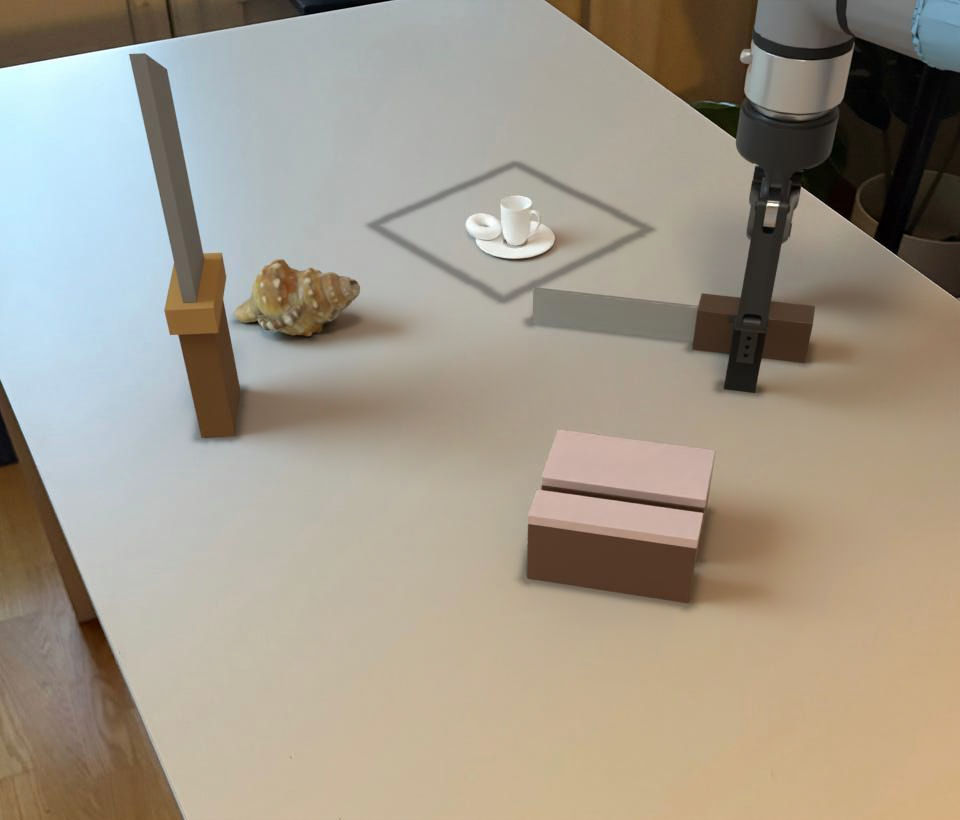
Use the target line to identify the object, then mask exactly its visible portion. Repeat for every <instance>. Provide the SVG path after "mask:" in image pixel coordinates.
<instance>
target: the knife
mask: <svg viewBox="0 0 960 820" xmlns="http://www.w3.org/2000/svg"><path fill="white" fill-rule="evenodd" d="M128 57H129V61H130V66H131V71H132V74H133V79H134V84H135V88H136V93H137V97H138V103H139V106H140V112H141V116H142V120H143V125H144V130H145V134H146V139H147V145H148V148H149V153H150V157H151V162H152V167H153V171H154V176H155V181H156V185H157V190H158V194H159V199H160V203H161V209H162V212H163V217H164V222H165V226H166V231H167V237H168V240H169V245H170V250H171V255H172V259H173V266H172V270H171V276H170V281H169V285H168V290H167V295H166V300H165V305H164V308H163V309H164V310H163V311H164V315H165V320H166V324H167V329H168V333H169V336H178V340H179V345H180V348H181V353H182V358H183V362H184V366H185V371H186V376H187V379H188V384H189V388H190V389H189V390H190V393H191V398H192V402H193V407H194V411H195V415H196V420H197V424H198V429H199V433H200V438H201V439H210V438H212V439H213V438H232V437H234V438H235V437H236V431H237V422H238V413H239V405H240V397H241V385H240V381H239V374H238V370H237V365H236V359H235V354H234V350H233V349H234V348H233V344H232V339H231V333H230V328H229V322H228V318H227V313H226V307H225V301H224V296H225V290H226V283H227V271H226V268H225V262H224V255H223V252H207V253H205V252H204V250H203V245H202V240H201V239H202V238H201V235H200V230H199V225H198V224H199V223H198V220H197V214H196V210H195V204H194V200H193V194H192V190H191V183H190V179H189V174H188V169H187V164H186V159H185V158H186V157H185V153H184V149H183V144H182V138H181V132H180V128H179V123H178V122H179V121H178V117H177V113H176V108H175V102H174V98H173V92H172V89H171V83H170V78H169V72H168V69H167V68H166V67H165V66H163V64H160V63H159V62H158V61H156V60H155V59H153V58H152V57H151V56H149V55H148V54H147V53H145V52H144V53H143V52H141V53H139V52H138V53H128Z"/></svg>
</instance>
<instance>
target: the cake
mask: <svg viewBox="0 0 960 820" xmlns="http://www.w3.org/2000/svg"><path fill="white" fill-rule="evenodd" d="M716 451H717V450H715V449H709V448H703V447H702V448H701V447H692V446H685V445H677V444H670V443H664V442H663V443H662V442H656V441H648V440H642V439H641V440H640V439H634V438H625V437H619V436H610V435H603V434H597V433H588V432H581V431H575V430H568V429H557V430H556V434H555V436H554V439H553V443H552V445H551V448H550V450H549V454H548V456H547V460H546V463H545V465H544V469H543V471H542V475H541V482H540V483H541V485H540V486H541V487H540V490H544V491H551V492H558V493H565V494H572V495H579V496H586V497H594V498H601V499H608V500H615V501H622V502H629V503H636V504H643V505H650V506H657V507H664V508H671V509H678V510H685V511H692V512H699V513H703V520H702V526H701V533H700V539H699V545H698V551H697V558H696V562H697V560H698V556H699V550H700V544H701V541H702V536H703V531H704V525H705V520H706V514H707V509H708V502H709V498H710V497H709V496H710V490H711V485H712V477H713V471H714V466H715V465H714V464H715V460H716V459H715V458H716Z"/></svg>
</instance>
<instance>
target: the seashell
mask: <svg viewBox="0 0 960 820" xmlns="http://www.w3.org/2000/svg"><path fill="white" fill-rule="evenodd" d="M360 294H361V285H360V284H359V282H358V281H357V280H356V279H354V278H351V277H350V276H345V275H341V276H340V275H339V274H337V273H336V272H332V271H329V272H324V273H323V272H322V271H321V270H319V269H314V267H308V268H306V269H304V270H298V269H295V268H292V267H290V265H288V263H287V262H286V260H285V259H284V258H276V259H275V260H273V261H272V262H271V263H270V264H268V265H264V266H263V267H262V268H261V270H260V272H259V273H258V274H257V275H256V276H255V278H254V281H253V284H252V286H251V294H250V297H249V298H248V299H247V300H245V301H244V302H243V303H242V304H241V305H239V306H238V307H236V308H235V311H234V315H235V319H236V320H237V321H239V322H241V323H245V324H246V323H252V322H253V323H254V322H258V324H259V326H260V327H261V328H262V329H263V330H265V331H267V332H270V331H271V332H273V333H275V332H280V333H284V334H286V335H290V336H305V337H310V336H312V335H313V334H318V333H321V332H322V331H323V326H324V324H326V323H331V322H332V321H333V320H335V319H337V318H338V317H339V316H340V315H341V313H342V311H344V310H346V309H347V308H348V307H350V306H351V304H352V303H353V301H355V300H356V299H357V298H358V297H359V295H360Z"/></svg>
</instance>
